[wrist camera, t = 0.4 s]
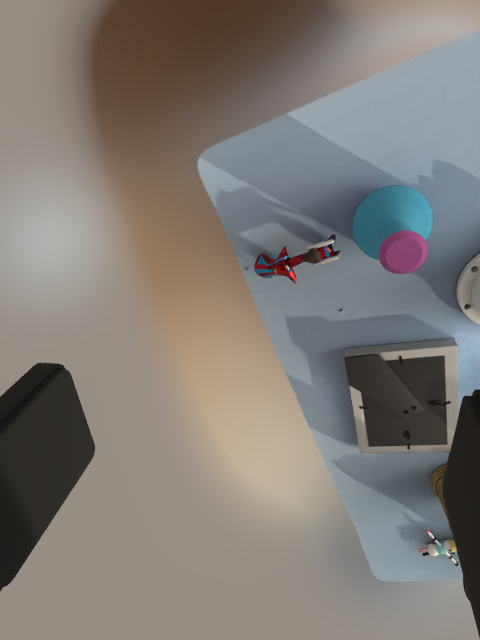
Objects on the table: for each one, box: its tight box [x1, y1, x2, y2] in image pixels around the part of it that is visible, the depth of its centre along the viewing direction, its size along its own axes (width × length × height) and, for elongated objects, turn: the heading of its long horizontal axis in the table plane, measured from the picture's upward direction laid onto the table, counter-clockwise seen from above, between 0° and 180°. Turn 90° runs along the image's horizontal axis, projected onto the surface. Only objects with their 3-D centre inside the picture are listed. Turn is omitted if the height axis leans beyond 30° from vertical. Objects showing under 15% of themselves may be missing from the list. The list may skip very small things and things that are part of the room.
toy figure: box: [419, 530, 458, 566], centre depth 81 cm, size 12×2×9 cm
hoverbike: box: [255, 234, 340, 284], centre depth 56 cm, size 5×12×6 cm, turn 112°
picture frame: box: [344, 338, 458, 454], centre depth 66 cm, size 16×3×21 cm
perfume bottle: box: [352, 186, 433, 274], centre depth 47 cm, size 9×9×15 cm
